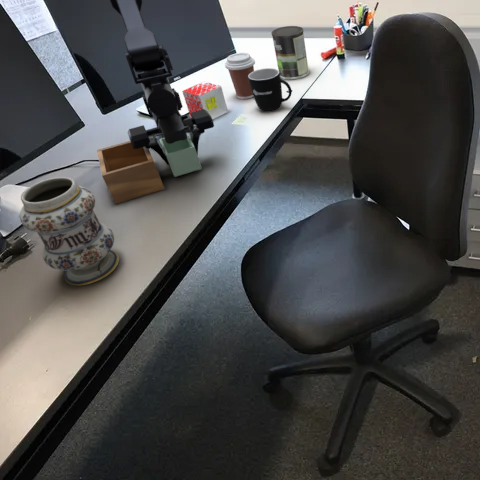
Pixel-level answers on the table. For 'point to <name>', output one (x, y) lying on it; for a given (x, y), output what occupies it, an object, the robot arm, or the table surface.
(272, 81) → the mug
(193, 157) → the bin
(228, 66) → the coffee cup
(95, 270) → the apothecary jar
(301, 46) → the coffee can
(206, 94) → the red and white cube
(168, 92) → the robot arm
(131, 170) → the crate
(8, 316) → the table surface
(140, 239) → the table surface
